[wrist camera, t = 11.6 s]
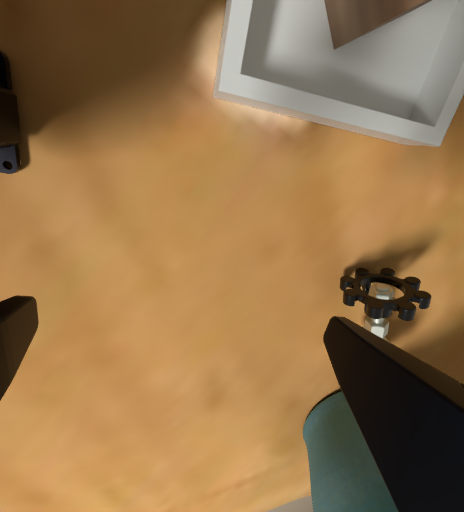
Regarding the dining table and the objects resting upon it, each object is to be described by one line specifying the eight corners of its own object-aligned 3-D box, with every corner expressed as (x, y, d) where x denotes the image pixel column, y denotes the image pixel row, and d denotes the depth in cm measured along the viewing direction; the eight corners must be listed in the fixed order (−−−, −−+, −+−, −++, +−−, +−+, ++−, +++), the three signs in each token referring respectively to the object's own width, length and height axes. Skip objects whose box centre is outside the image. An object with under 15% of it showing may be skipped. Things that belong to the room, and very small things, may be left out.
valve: (376, 353, 30) (391, 261, 25) (422, 407, 25) (454, 300, 19) (321, 366, 30) (325, 274, 25) (355, 424, 24) (370, 319, 19)
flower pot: (257, 404, 31) (330, 674, 15) (402, 341, 30) (627, 555, 15) (299, 474, 39) (374, 697, 23) (414, 425, 38) (567, 620, 23)
